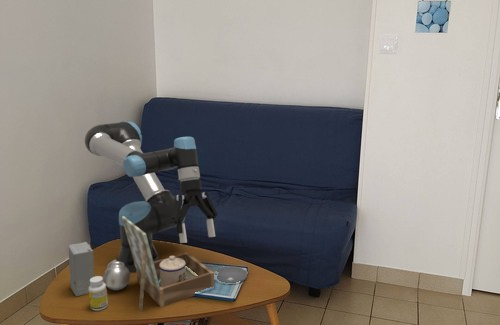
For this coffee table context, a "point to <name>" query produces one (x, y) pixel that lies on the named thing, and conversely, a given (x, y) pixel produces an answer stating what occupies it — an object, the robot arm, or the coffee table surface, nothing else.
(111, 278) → the silver metal rounded piece
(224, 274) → the trivet
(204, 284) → the open wooden keepsake box
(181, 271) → the teacup with lid
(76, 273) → the skincare box
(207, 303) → the coffee table surface
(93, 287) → the supplement bottle
